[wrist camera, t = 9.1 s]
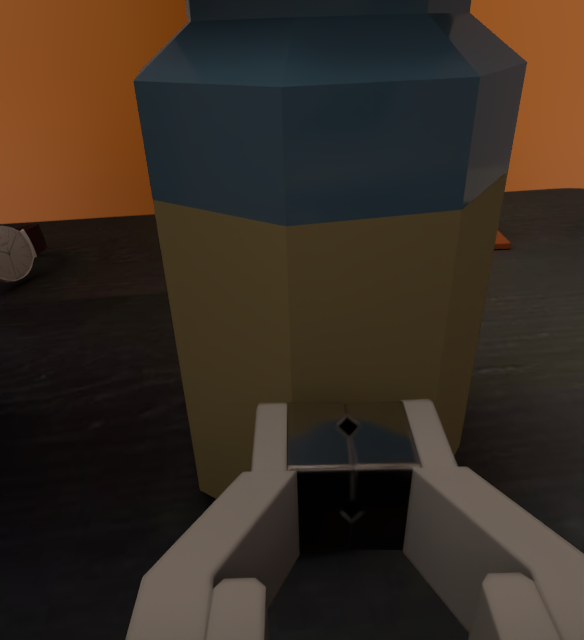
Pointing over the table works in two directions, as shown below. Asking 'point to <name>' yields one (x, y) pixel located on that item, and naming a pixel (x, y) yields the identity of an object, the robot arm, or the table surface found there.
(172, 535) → the table surface
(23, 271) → the watch
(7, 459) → the table surface
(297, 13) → the jar
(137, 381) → the table surface
